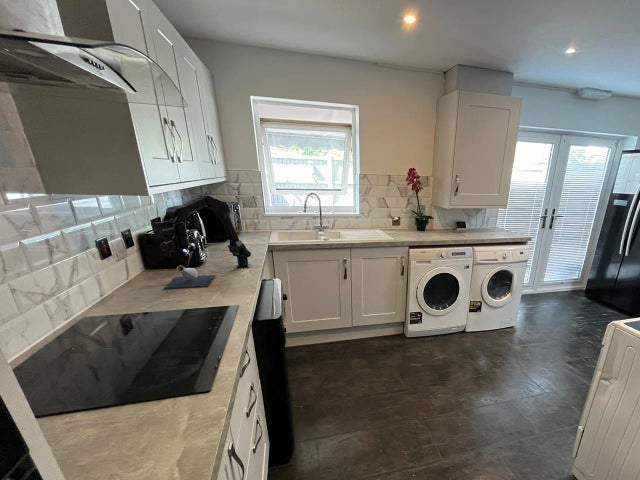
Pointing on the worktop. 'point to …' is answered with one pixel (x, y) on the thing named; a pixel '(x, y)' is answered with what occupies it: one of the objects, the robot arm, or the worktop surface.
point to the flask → (188, 273)
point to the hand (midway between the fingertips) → (186, 266)
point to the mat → (190, 282)
